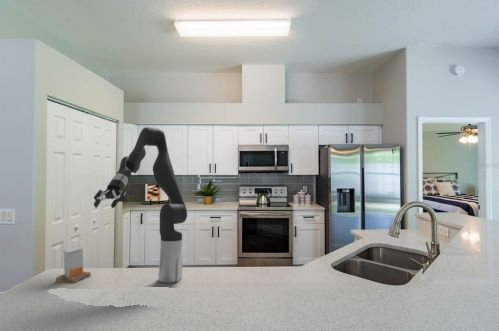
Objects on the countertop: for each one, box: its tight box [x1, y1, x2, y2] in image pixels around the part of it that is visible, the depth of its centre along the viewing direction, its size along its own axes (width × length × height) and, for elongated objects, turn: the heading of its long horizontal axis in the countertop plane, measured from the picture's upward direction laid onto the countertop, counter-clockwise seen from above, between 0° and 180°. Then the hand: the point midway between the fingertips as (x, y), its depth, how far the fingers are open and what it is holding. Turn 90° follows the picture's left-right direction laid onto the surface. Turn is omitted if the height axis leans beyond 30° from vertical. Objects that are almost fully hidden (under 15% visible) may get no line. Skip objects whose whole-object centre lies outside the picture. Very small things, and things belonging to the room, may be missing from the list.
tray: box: [55, 271, 92, 284], centre depth 116 cm, size 9×9×2 cm
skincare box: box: [63, 245, 84, 277], centre depth 116 cm, size 6×4×12 cm
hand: (103, 206), depth 131 cm, fingers open, 8 cm apart
